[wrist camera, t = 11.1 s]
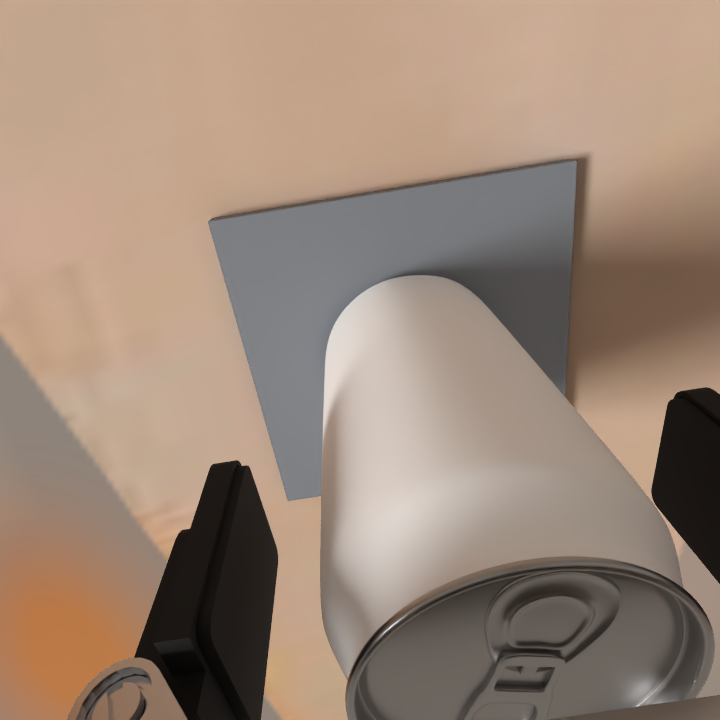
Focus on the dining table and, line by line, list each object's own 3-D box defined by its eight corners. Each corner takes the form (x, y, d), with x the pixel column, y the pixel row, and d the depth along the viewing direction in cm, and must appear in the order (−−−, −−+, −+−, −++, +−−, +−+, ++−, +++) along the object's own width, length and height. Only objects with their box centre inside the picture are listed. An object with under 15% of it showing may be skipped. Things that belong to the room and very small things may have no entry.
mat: (212, 218, 16) (208, 221, 16) (568, 159, 16) (576, 160, 15) (288, 491, 21) (287, 500, 21) (556, 449, 21) (562, 458, 21)
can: (517, 282, 17) (837, 556, 6) (472, 433, 20) (639, 800, 9) (336, 258, 16) (348, 522, 6) (315, 418, 19) (297, 799, 8)
